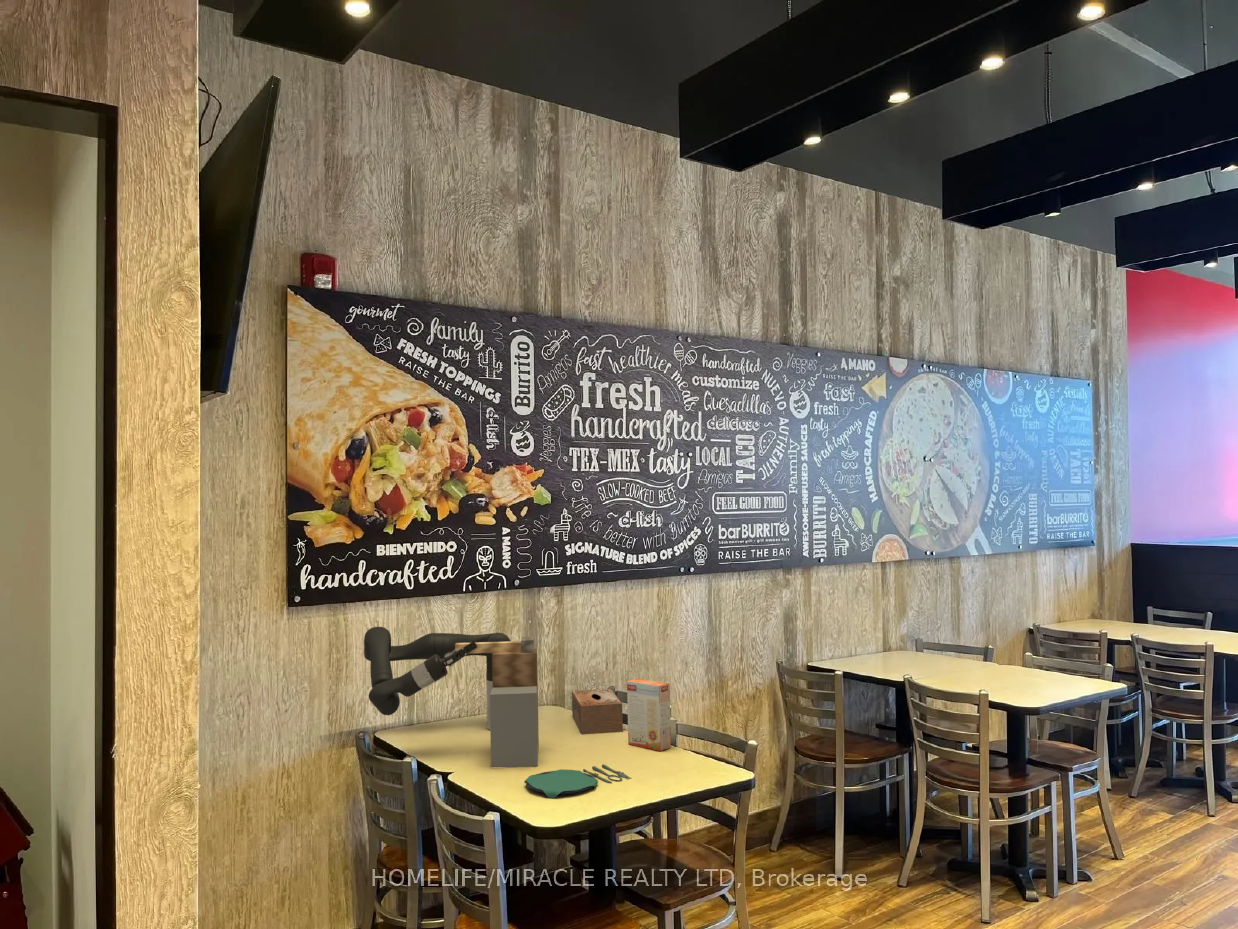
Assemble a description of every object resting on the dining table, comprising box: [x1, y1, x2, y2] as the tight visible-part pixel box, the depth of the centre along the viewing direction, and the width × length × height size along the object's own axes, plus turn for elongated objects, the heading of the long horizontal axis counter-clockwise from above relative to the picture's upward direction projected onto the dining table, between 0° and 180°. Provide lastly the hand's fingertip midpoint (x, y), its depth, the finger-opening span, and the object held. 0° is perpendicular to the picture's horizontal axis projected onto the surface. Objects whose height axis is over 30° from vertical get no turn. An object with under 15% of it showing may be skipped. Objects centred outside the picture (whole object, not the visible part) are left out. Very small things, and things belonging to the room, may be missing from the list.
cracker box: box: [626, 678, 672, 752], centre depth 292 cm, size 14×6×21 cm, turn 47°
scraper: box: [455, 635, 535, 654], centre depth 289 cm, size 25×8×4 cm, turn 94°
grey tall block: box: [489, 686, 539, 768], centre depth 277 cm, size 14×10×22 cm
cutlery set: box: [524, 764, 633, 799], centre depth 255 cm, size 20×30×2 cm, turn 124°
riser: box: [492, 647, 540, 750], centre depth 289 cm, size 14×10×32 cm
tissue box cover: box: [571, 688, 624, 735], centre depth 323 cm, size 26×14×10 cm, turn 10°
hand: (475, 643), depth 289 cm, fingers closed on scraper, 3 cm apart
